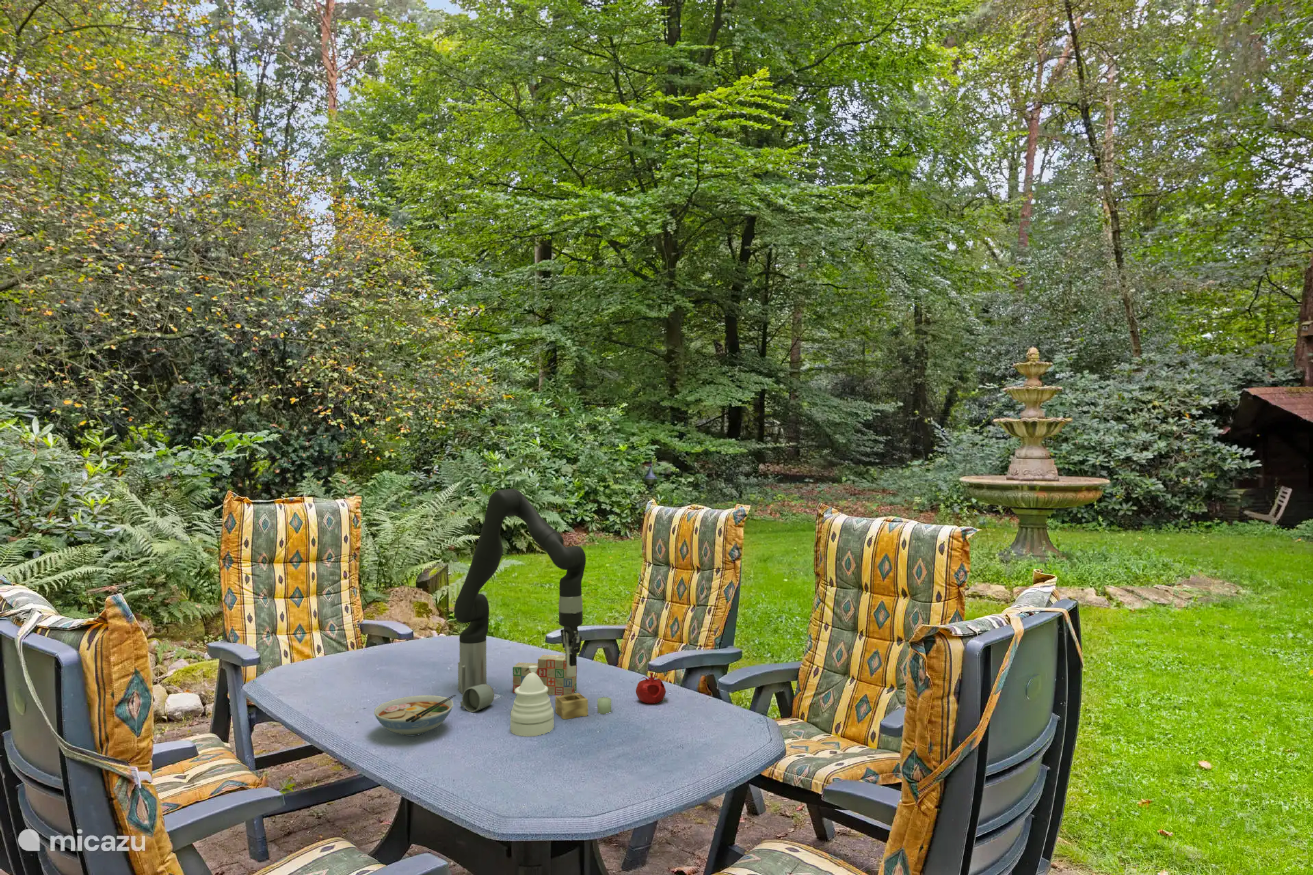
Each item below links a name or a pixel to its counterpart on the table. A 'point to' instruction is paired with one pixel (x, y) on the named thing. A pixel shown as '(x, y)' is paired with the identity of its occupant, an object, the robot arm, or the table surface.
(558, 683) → the stack of blocks
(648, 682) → the pomegranate
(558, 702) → the bead block
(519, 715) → the honey pot
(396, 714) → the ramen bowl
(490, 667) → the table surface
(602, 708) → the bead
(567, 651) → the cream capped cylinder
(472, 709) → the ceramic mug
